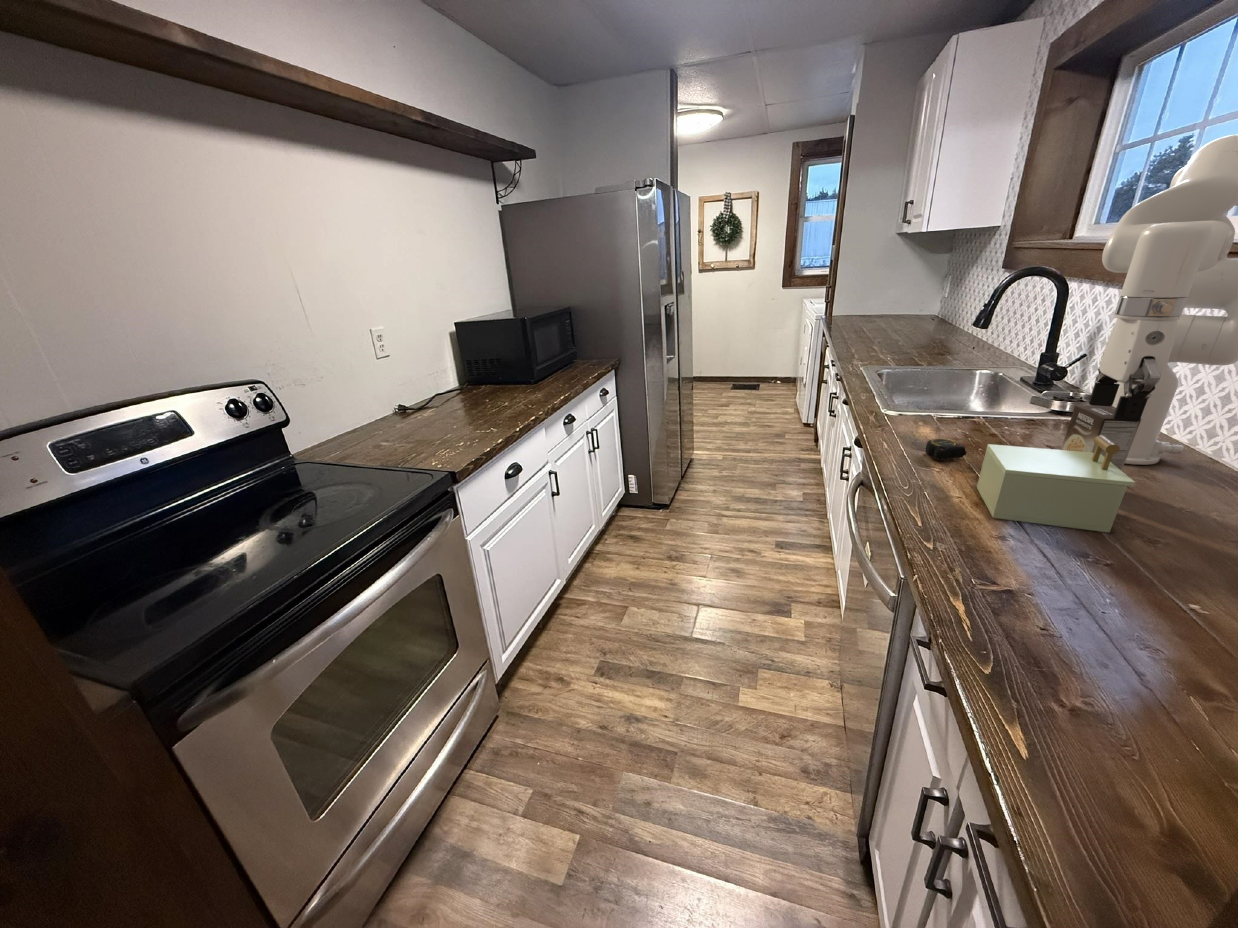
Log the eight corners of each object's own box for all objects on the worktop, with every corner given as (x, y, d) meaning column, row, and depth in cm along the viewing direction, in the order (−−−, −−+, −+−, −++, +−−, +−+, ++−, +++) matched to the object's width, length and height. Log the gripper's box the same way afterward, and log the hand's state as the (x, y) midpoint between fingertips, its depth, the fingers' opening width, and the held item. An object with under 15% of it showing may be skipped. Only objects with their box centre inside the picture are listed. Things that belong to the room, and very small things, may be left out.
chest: (1078, 498, 97) (1092, 456, 94) (1109, 532, 86) (1127, 486, 82) (976, 487, 104) (986, 447, 100) (992, 517, 92) (1004, 474, 89)
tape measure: (937, 464, 116) (941, 449, 114) (917, 453, 122) (920, 439, 120) (964, 461, 116) (968, 446, 115) (943, 451, 123) (946, 436, 121)
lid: (1098, 456, 94) (1108, 428, 91) (1134, 486, 82) (1146, 455, 80) (986, 447, 100) (993, 421, 98) (1004, 473, 89) (1013, 444, 86)
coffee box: (1050, 476, 107) (1072, 404, 101) (1084, 477, 106) (1109, 404, 100) (1076, 494, 99) (1103, 417, 93) (1114, 496, 97) (1144, 418, 91)
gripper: (1215, 314, 70) (1168, 430, 76) (1151, 304, 84) (1117, 401, 91) (1144, 314, 73) (1105, 425, 79) (1095, 304, 87) (1065, 398, 94)
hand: (1112, 412), depth 85 cm, fingers open, 9 cm apart
